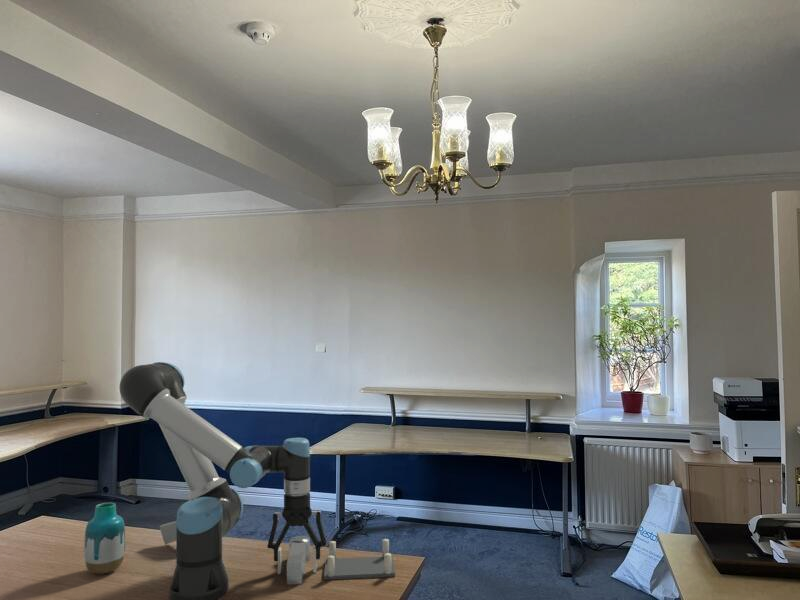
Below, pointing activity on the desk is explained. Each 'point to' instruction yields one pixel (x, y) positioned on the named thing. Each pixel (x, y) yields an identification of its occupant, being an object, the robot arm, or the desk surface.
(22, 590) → the desk surface
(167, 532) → the white stapler
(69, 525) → the desk surface
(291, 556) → the grey ball-ended handle
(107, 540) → the vase
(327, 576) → the pad
